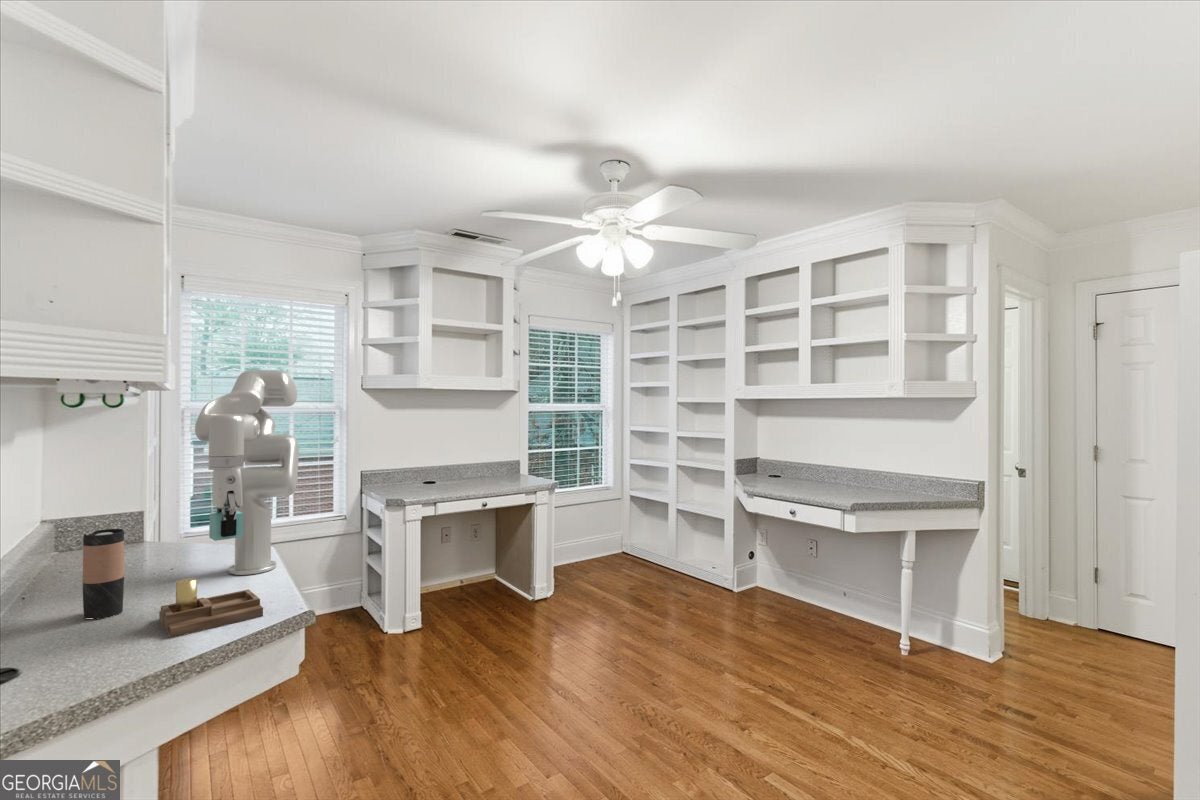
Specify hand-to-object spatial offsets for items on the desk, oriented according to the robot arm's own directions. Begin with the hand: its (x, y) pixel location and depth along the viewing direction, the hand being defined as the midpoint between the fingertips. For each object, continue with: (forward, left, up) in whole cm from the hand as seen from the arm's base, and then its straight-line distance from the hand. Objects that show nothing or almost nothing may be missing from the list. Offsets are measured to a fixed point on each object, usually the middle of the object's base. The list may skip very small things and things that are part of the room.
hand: (225, 533), depth 144 cm
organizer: (+7, -4, -18) cm, 20 cm away
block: (0, 0, -1) cm, 1 cm away
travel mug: (-14, -22, -19) cm, 32 cm away
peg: (+7, -9, -16) cm, 20 cm away
